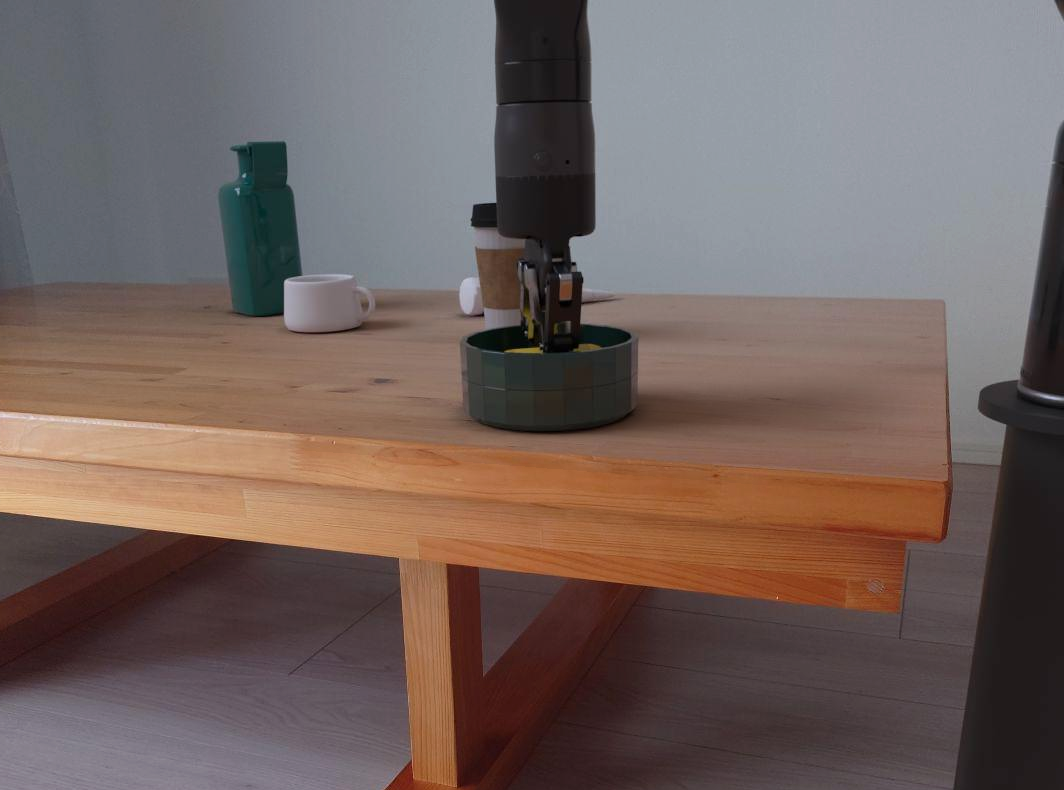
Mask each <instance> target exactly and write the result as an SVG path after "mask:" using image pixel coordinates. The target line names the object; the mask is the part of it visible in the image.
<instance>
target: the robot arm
mask: <svg viewBox="0 0 1064 790" xmlns="http://www.w3.org/2000/svg"><path fill="white" fill-rule="evenodd" d="M1053 2H1054V4H1055V6H1056V8H1057V10H1058V12H1059V14H1060V17H1061V19H1062V21H1063V22H1064V0H1053ZM493 4H494V12H495V38H494V39H495V41H494V77H495V78H494V79H495V104H496V106H495V124H494V133H493V134H494V135H493V136H494V138H493V147H494V148H493V151H494V152H493V153H494V174H495V175H494V179H495V201H496V202H495V203H496V206H497V230H498V233H499V234H500V235H501V236H503V237H505V238H513V239H526V240H525V253H524V258H517V262H516V268H517V273H518V286H519V299H520V312H521V321H520V325H521V326H522V330H523V331H525V332H524V336H525V337H526V341H527V342H530V341H532V343H528V344H529V348H538V347H539V351H540V352H541V353H562V352H573V351H574V349H578V348H579V344H580V323H581V320H582V318H581V317H582V304H583V302H582V288H583V284H584V276H583V273H582V271H581V270H579V271H578V264H577V262H576V261H572V254H571V246H570V241H571V239H572V238H577V237H586V236H590V235H591V234H593V233H594V232H595V230H596V221H597V220H596V218H597V217H596V216H597V215H596V213H597V212H596V211H597V210H596V208H597V207H596V205H597V204H596V202H597V201H596V200H597V199H596V198H597V197H596V131H595V130H596V129H595V122H594V116H593V115H594V113H593V103H592V101H593V89H592V88H593V80H592V79H593V77H592V76H593V75H592V74H593V73H592V72H593V71H592V69H593V68H592V67H593V65H592V43H591V33H590V26H589V18H588V7H589V0H493ZM1054 140H1055V141H1054V146H1053V153H1052V159H1051V160H1052V162H1053V163H1052V164H1051V166H1050V172H1049V179H1048V187H1047V193H1046V200H1045V207H1044V213H1043V221H1042V226H1041V233H1040V241H1039V248H1038V252H1037V253H1038V254H1037V261H1036V267H1035V274H1034V282H1033V286H1032V287H1033V288H1032V295H1031V300H1030V307H1029V308H1030V309H1029V315H1028V321H1027V328H1026V334H1025V340H1024V349H1023V356H1022V363H1021V366H1020V372H1019V379H1017V380H1018V385H1017V392H1016V395H1017V396H1018V397H1019V398H1020V399H1022V400H1024V401H1027V402H1030V403H1032V404H1036V405H1040V406H1044V407H1049V408H1054V409H1061V410H1064V119H1063V120H1062V121H1061V122H1060V124H1059V126H1058V128H1057V131H1056V135H1055V139H1054ZM529 301H530V302H529ZM557 324H561V325H562V326H563V332H564V333H561V334H558V331H557Z"/></svg>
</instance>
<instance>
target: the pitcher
mask: <svg viewBox="0 0 1064 790" xmlns="http://www.w3.org/2000/svg"><path fill="white" fill-rule="evenodd" d="M287 148H288V147H287V143H286V141H285V140H269V141H267V140H266V141H264V140H263V141H247V143H246V144H234V145H231V146H230V147H229V151H230V152H233V153H236V159H237V166H238V177H237V178H236V179H235V180H233V181H230V182H229V181H228V182H226V183H224V184H222V185H221V186H220V187H219V189H218V192H217V199H218V207H219V214H220V222H221V230H222V231H221V232H222V237H223V244H224V245H223V246H224V254H225V261H226V268H227V277H228V283H229V290H230V298H231V299H230V300H231V307H232V310H233V312H234V313H236V314H242V315H245V316H251V317H269V316H277V315H284V281H285V280H286V279H289V278H293V277H299V276H303V267H302V260H301V259H302V258H301V250H300V240H299V231H298V221H297V212H296V211H297V210H296V202H295V194H294V191H293V189H292V187H291V185H290V184H289V183H288V175H289V173H288V171H289V170H288V151H287Z"/></svg>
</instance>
